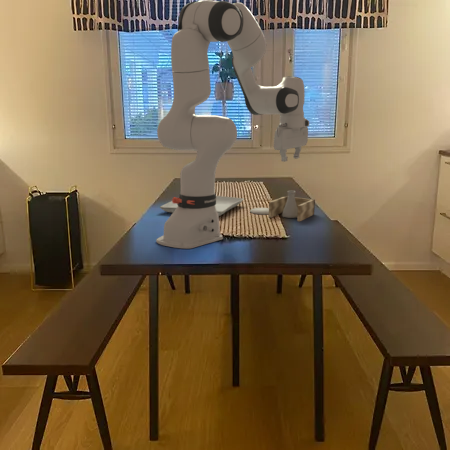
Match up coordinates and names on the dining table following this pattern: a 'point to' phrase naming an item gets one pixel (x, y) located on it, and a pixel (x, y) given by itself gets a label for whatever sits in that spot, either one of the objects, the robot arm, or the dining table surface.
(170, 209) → the square plate
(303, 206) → the u-shaped wooden frame
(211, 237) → the robot arm
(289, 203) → the flask
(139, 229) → the dining table surface
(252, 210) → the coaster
